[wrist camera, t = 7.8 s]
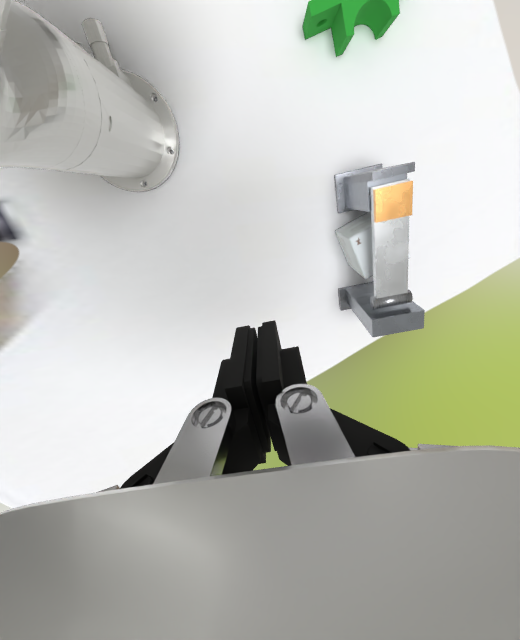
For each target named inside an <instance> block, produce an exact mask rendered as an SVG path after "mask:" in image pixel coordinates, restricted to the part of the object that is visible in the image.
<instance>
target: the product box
mask: <svg viewBox="0 0 520 640" xmlns="http://www.w3.org/2000/svg"><path fill="white" fill-rule="evenodd" d="M335 233H336V235H337V238H338V240H339V243H340V245H341V248H342V250H343V252H344V255H345V257H346V260H347V262H348V264H349V266H350V267H351V268H353V269H354V270H355V271H356V272H357V273H359V274H360V275H361V276H362V277H363V278H365V279H367V278H370V277H372V276H373V251H372V223H371V212H368V213H366V214H364V215H362V216H361V217H359V218H357V219H355V220H353V221H351V222H350V223H348V224H346V225H344V226H342V227H341V228H339V229H337V230H335ZM409 258H410V254H409V251H408V259H409Z"/></svg>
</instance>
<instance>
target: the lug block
mask: <svg viewBox="0 0 520 640" xmlns="http://www.w3.org/2000/svg"><path fill="white" fill-rule="evenodd" d="M413 171H415V162H411V163H406V164H401V165H396V166H391V167H386V168H382V164H378V165H374V166H370V167H366V168H362V169H358V170H354V171H350V172H345V173H341V174H337V175H334V176H335V187H336V199H337V210H338V213H342V212H346V211H350V210H360V211H366V212H371V196H370V187H374V186H378V185H383V184H387V183H391V182H395V181H400V180H404V179H407V173H409V172H413Z"/></svg>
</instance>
